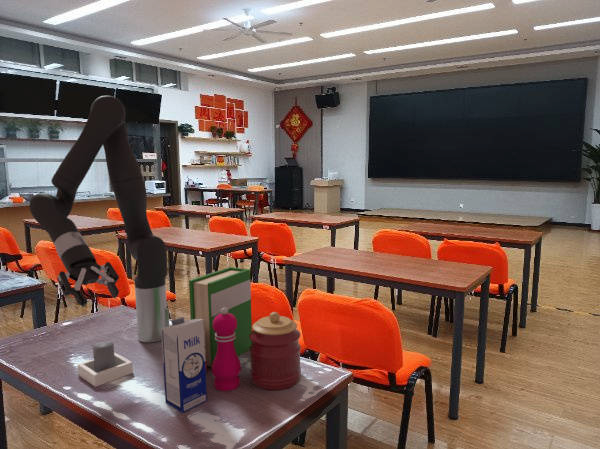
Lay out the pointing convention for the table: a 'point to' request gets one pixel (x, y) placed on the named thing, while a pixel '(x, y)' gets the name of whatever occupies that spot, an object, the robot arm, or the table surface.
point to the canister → (275, 353)
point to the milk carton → (184, 364)
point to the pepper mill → (225, 352)
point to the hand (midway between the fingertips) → (101, 300)
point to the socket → (105, 371)
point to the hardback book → (223, 306)
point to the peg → (103, 356)
